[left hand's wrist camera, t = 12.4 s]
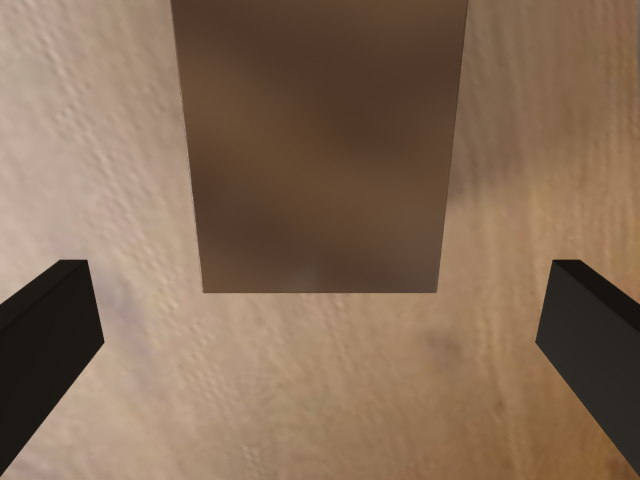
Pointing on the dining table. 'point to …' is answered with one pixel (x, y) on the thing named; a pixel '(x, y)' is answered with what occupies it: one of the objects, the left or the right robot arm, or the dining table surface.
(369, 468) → the dining table surface
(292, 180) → the cabinet
